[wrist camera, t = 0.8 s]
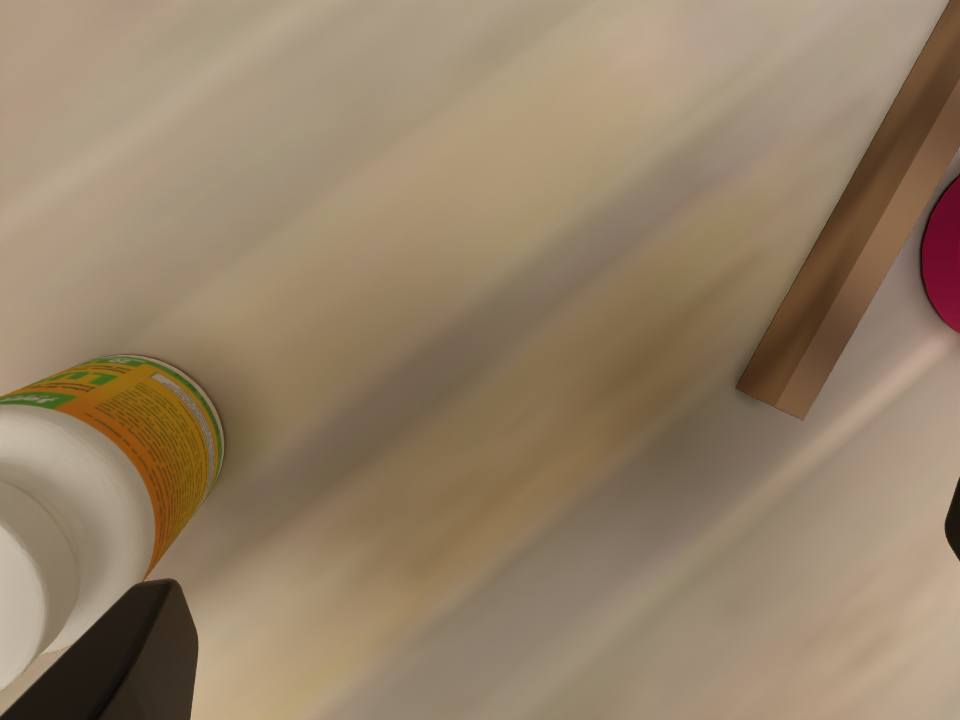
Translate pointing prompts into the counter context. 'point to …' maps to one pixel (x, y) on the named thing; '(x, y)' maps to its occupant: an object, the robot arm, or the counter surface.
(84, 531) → the supplement bottle
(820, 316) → the lane
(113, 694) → the robot arm
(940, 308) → the pepper mill
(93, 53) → the counter surface
